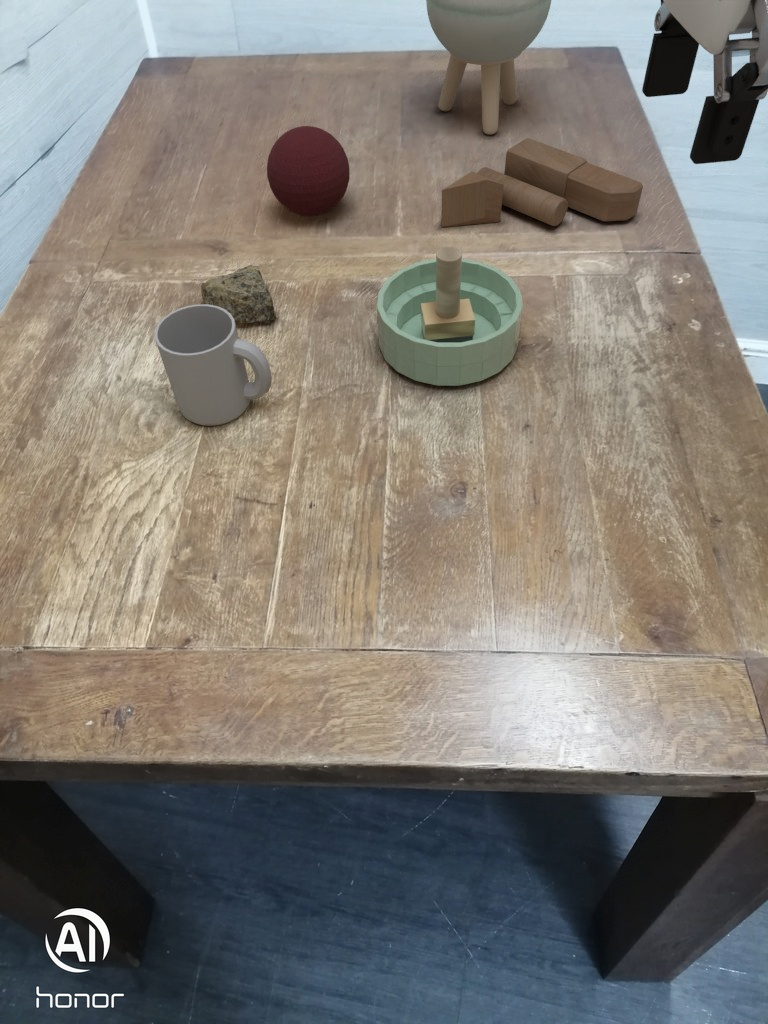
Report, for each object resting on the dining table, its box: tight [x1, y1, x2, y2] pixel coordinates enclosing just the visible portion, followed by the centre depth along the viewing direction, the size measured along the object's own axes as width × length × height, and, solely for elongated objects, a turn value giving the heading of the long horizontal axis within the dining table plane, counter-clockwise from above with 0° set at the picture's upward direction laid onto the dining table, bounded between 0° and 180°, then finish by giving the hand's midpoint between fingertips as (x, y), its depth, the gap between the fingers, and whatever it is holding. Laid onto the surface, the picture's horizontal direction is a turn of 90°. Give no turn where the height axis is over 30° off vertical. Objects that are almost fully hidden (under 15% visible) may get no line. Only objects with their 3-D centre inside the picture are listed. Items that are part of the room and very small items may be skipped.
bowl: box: [376, 257, 524, 387], centre depth 78 cm, size 14×14×6 cm
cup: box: [154, 303, 273, 427], centre depth 72 cm, size 7×10×9 cm
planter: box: [425, 0, 552, 136], centre depth 102 cm, size 16×16×22 cm
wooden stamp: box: [420, 246, 475, 342], centre depth 75 cm, size 5×4×10 cm
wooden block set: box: [440, 137, 644, 228], centre depth 91 cm, size 17×6×18 cm
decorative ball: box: [266, 125, 350, 217], centre depth 93 cm, size 10×10×10 cm
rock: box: [200, 264, 277, 324], centre depth 83 cm, size 7×8×4 cm
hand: (687, 125), depth 53 cm, fingers open, 9 cm apart
